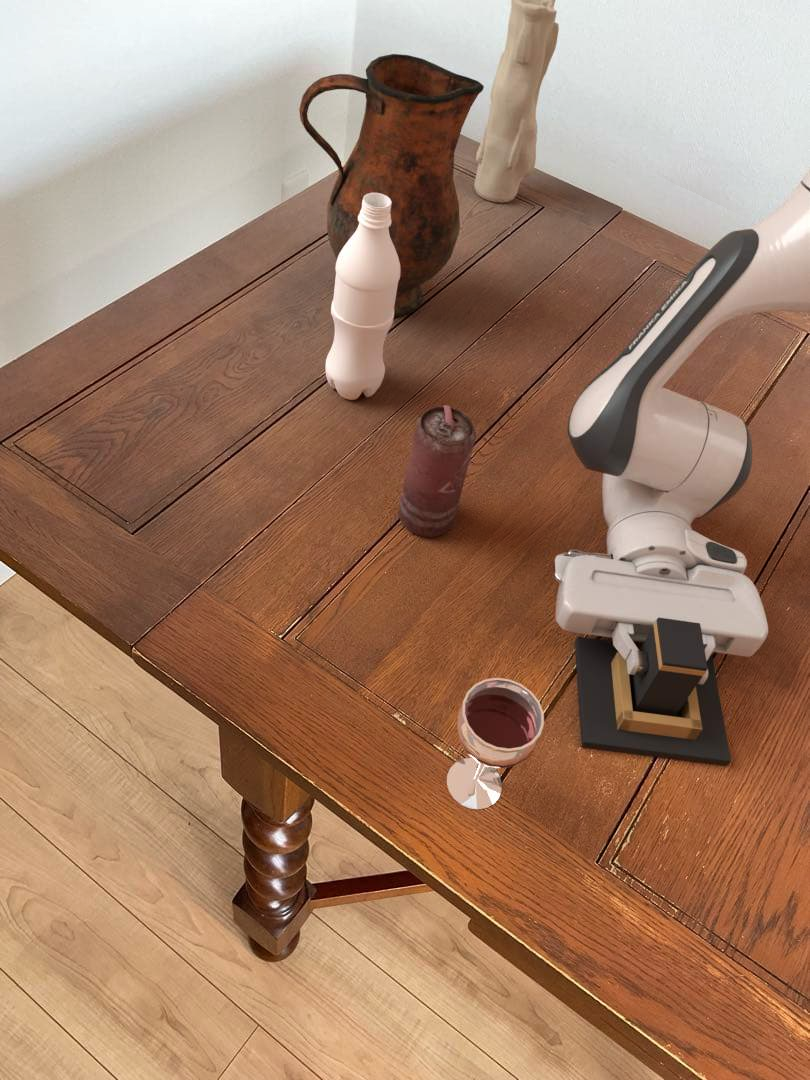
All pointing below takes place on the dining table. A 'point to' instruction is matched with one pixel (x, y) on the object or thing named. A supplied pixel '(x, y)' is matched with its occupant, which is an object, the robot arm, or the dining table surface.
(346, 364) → the water bottle
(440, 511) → the can
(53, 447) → the dining table surface
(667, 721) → the base pad
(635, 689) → the upright block
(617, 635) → the robot arm
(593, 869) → the dining table surface
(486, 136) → the vase
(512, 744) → the wineglass
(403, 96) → the pitcher
